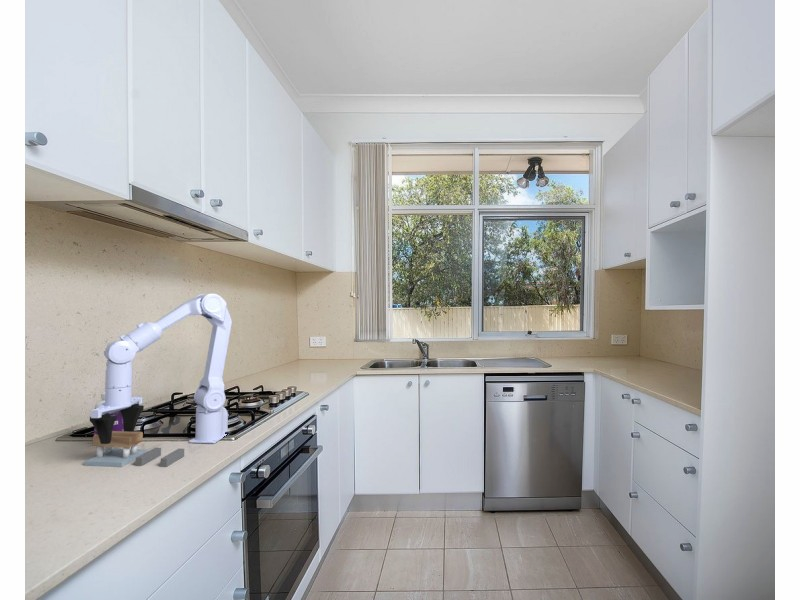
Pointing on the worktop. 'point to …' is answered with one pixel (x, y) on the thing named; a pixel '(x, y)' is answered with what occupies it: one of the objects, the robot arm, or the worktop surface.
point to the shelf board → (120, 439)
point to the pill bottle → (119, 420)
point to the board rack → (156, 453)
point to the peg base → (114, 456)
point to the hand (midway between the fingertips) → (117, 438)
